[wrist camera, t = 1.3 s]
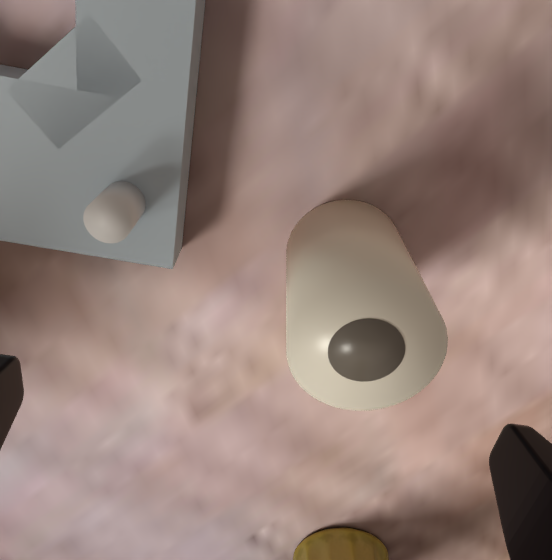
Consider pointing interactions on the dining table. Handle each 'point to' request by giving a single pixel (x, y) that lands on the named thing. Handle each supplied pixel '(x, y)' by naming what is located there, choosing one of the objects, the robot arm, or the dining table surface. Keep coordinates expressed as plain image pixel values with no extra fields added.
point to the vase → (341, 546)
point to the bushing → (358, 310)
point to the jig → (104, 133)
